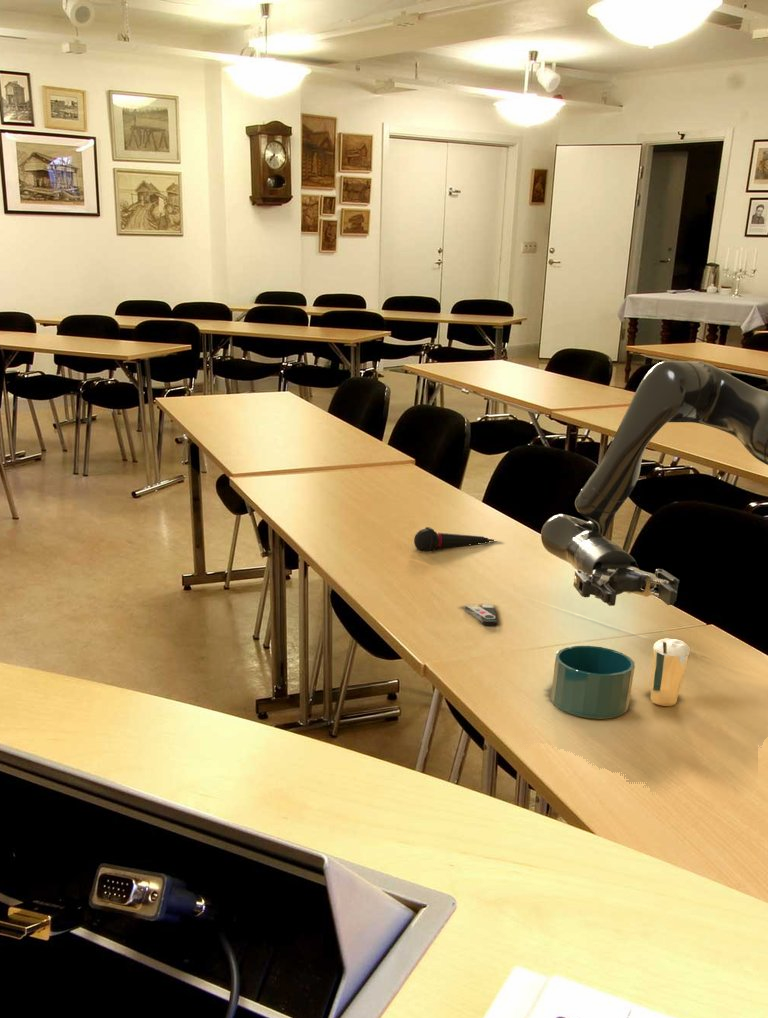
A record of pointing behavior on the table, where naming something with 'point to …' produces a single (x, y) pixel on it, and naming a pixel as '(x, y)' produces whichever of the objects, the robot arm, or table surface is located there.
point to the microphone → (444, 540)
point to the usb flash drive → (483, 613)
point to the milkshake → (668, 670)
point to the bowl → (592, 681)
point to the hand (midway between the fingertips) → (643, 599)
